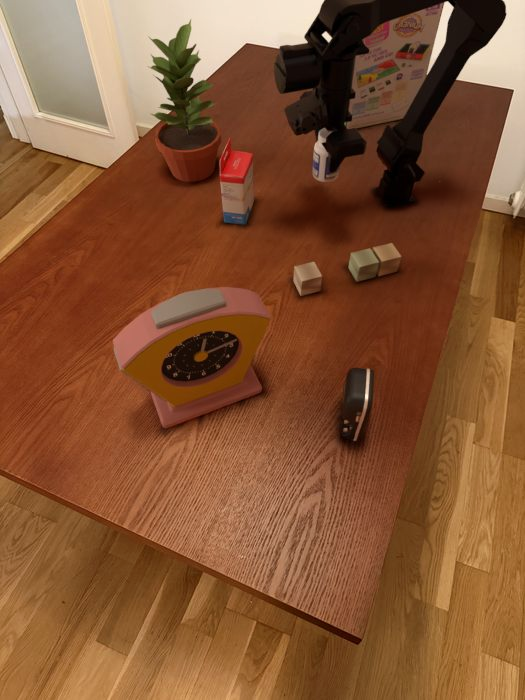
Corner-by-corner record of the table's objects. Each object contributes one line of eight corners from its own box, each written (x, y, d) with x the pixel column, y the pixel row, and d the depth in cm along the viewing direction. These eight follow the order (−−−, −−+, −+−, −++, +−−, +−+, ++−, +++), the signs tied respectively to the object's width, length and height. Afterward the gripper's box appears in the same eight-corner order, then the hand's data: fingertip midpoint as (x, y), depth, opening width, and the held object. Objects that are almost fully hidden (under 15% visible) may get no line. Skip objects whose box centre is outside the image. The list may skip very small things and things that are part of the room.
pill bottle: (341, 170, 101) (347, 128, 93) (334, 185, 98) (339, 143, 91) (316, 164, 102) (320, 123, 95) (308, 179, 99) (311, 138, 92)
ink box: (246, 226, 105) (243, 164, 93) (223, 223, 106) (217, 161, 94) (254, 200, 110) (252, 138, 98) (232, 198, 111) (228, 136, 99)
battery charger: (339, 400, 80) (348, 360, 71) (362, 404, 80) (375, 364, 71) (335, 440, 76) (344, 402, 67) (360, 444, 76) (372, 407, 67)
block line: (387, 258, 99) (392, 242, 96) (397, 271, 97) (401, 256, 94) (293, 281, 96) (294, 266, 93) (300, 296, 94) (301, 281, 90)
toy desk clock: (147, 436, 77) (112, 356, 59) (131, 389, 82) (95, 302, 64) (277, 387, 82) (280, 300, 64) (255, 345, 87) (252, 254, 69)
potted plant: (148, 181, 114) (116, 38, 90) (179, 145, 123) (157, 5, 98) (207, 196, 111) (190, 52, 87) (235, 158, 119) (226, 17, 95)
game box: (407, 106, 132) (435, -14, 110) (417, 117, 129) (448, -5, 107) (335, 120, 129) (349, -2, 107) (343, 132, 126) (360, 8, 103)
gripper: (274, 64, 89) (273, 144, 102) (309, 118, 79) (303, 200, 91) (332, 55, 91) (324, 135, 103) (374, 107, 80) (360, 189, 93)
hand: (326, 163), depth 98 cm, fingers closed on pill bottle, 5 cm apart
